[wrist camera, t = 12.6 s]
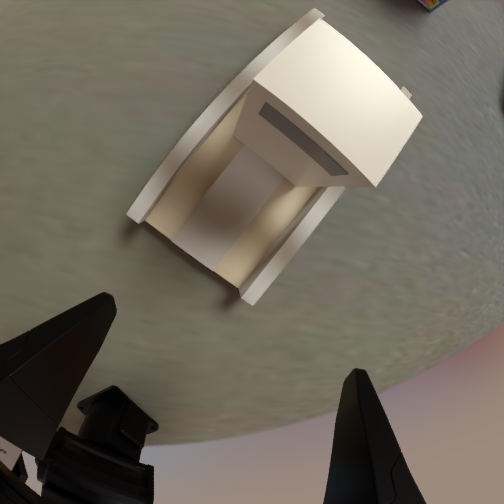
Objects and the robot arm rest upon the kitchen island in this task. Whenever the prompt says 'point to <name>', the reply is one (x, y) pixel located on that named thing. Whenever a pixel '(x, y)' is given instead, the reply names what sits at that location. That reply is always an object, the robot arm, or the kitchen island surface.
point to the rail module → (326, 113)
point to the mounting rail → (234, 192)
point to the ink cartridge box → (432, 4)
